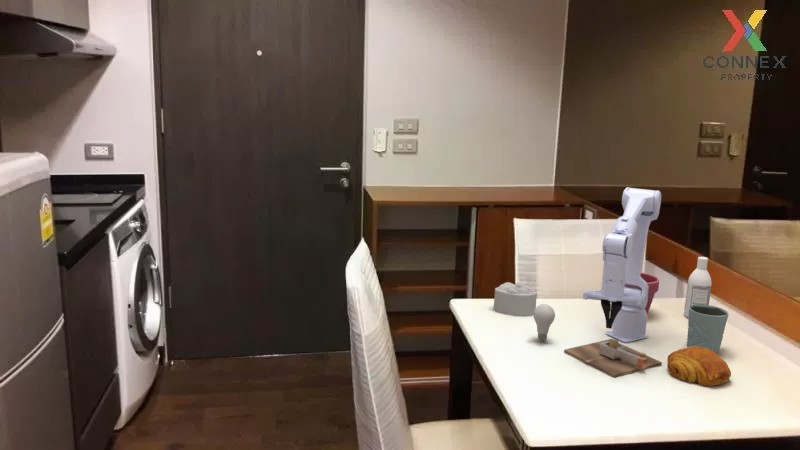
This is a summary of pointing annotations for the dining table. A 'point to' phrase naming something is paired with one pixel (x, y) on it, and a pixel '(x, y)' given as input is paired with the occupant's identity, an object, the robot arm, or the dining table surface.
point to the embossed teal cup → (706, 326)
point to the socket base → (609, 359)
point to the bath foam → (698, 286)
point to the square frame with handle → (622, 354)
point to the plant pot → (653, 288)
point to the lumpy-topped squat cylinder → (515, 299)
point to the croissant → (698, 366)
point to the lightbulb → (543, 320)
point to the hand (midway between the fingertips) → (608, 327)
